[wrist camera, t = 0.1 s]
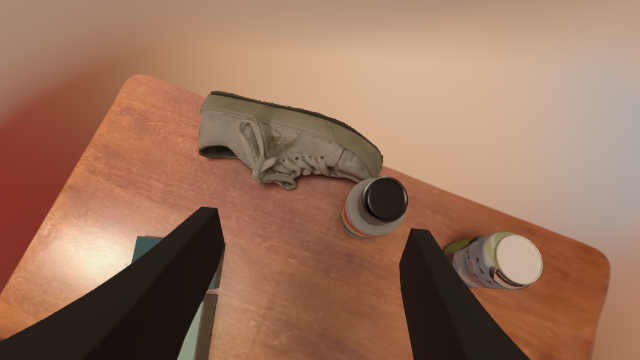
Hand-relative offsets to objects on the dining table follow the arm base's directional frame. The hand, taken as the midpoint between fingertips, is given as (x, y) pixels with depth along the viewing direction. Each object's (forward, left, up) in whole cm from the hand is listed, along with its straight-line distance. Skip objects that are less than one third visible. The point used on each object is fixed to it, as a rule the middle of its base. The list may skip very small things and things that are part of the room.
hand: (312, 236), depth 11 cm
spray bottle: (+4, -5, -32) cm, 33 cm away
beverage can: (-1, -20, -32) cm, 38 cm away
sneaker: (+16, +5, -27) cm, 32 cm away
